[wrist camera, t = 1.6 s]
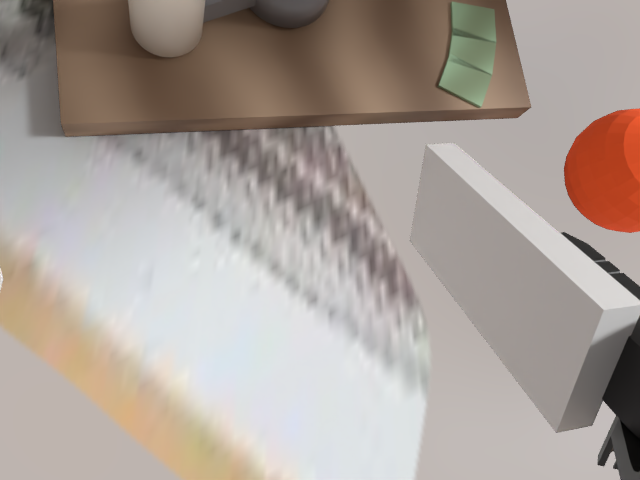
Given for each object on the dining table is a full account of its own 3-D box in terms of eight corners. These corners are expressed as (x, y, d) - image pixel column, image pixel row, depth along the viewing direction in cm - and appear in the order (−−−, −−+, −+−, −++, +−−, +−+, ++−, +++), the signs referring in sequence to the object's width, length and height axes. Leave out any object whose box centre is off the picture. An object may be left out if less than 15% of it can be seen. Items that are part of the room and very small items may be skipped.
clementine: (661, 243, 38) (768, 211, 31) (574, 276, 36) (668, 248, 29) (610, 127, 39) (702, 72, 32) (522, 152, 37) (601, 98, 30)
